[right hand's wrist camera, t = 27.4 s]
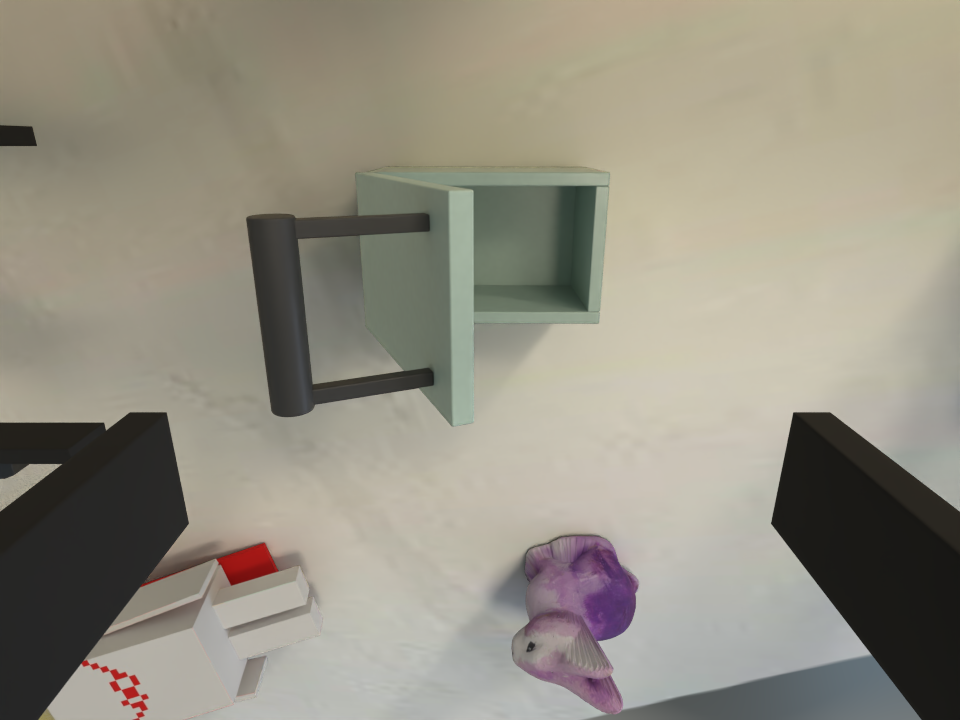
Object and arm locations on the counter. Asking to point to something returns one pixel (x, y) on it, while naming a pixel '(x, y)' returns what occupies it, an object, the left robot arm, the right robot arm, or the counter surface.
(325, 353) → the counter surface
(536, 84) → the counter surface
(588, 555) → the figurine
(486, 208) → the chest
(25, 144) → the left robot arm
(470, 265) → the lid
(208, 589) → the toy
